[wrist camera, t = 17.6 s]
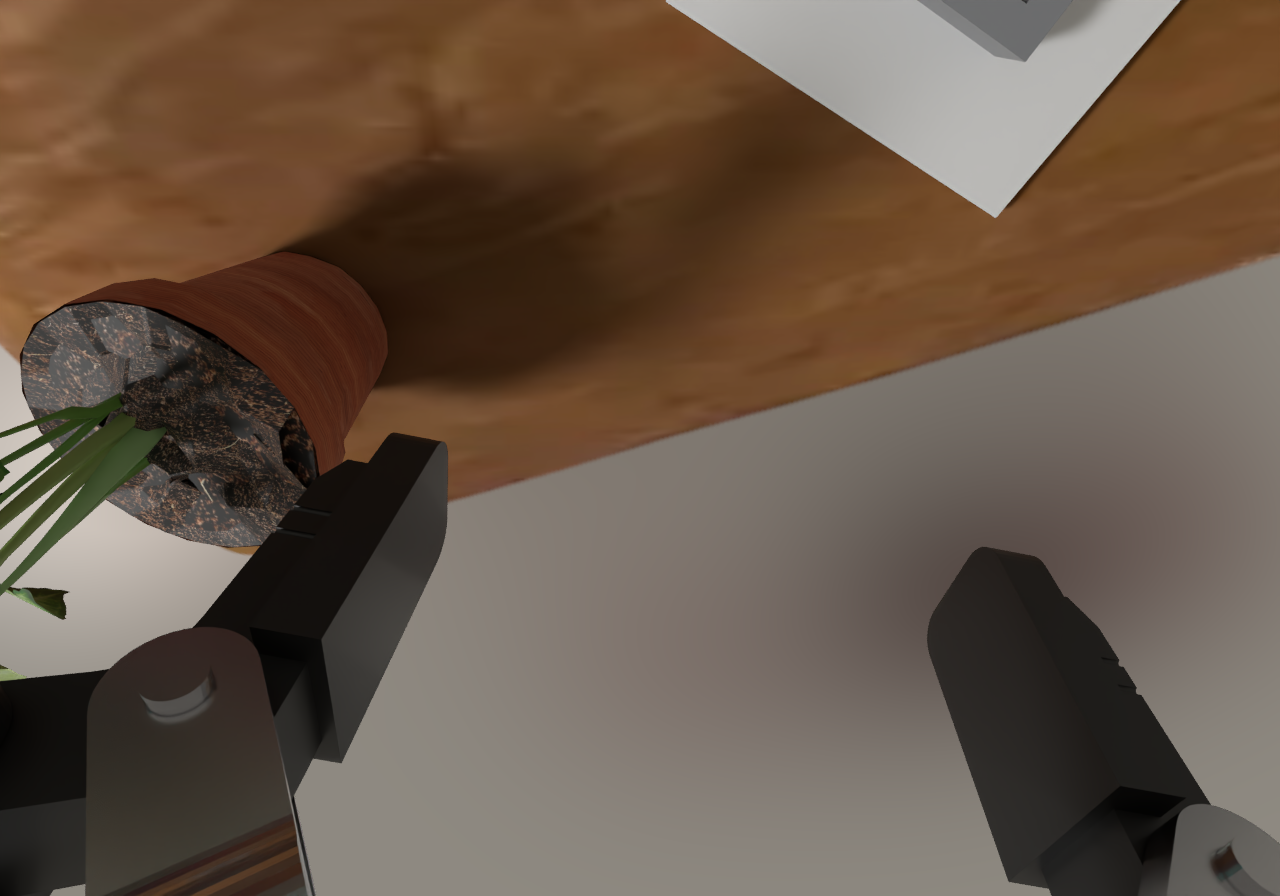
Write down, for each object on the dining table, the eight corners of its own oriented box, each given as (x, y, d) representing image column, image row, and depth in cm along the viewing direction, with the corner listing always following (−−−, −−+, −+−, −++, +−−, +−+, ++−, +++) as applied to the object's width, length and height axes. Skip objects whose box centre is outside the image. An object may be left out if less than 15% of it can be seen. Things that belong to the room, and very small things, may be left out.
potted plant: (133, 254, 40) (-1267, 874, 12) (340, 181, 37) (-937, 809, 8) (280, 454, 49) (-334, 1110, 20) (461, 409, 45) (33, 1129, 16)
